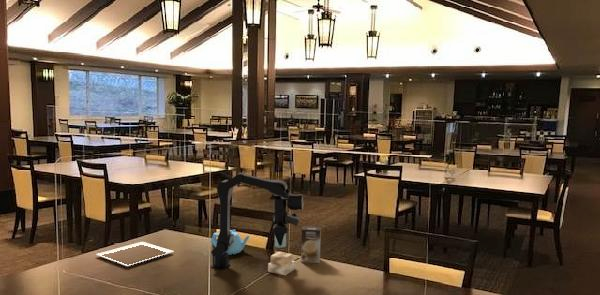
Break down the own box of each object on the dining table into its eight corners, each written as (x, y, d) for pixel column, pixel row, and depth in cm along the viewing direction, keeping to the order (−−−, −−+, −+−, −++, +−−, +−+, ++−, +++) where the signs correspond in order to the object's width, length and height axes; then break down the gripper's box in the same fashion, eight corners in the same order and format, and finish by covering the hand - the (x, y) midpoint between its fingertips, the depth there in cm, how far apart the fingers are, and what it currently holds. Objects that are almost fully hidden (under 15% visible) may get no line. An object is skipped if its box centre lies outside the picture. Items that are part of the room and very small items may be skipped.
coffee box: (300, 262, 213) (300, 229, 211) (301, 258, 219) (302, 225, 217) (319, 263, 212) (320, 230, 210) (320, 258, 218) (321, 226, 217)
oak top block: (270, 263, 200) (270, 255, 200) (279, 258, 207) (279, 251, 206) (283, 266, 197) (284, 258, 197) (292, 261, 203) (292, 254, 203)
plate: (142, 244, 237) (142, 241, 237) (174, 254, 222) (174, 250, 222) (95, 258, 216) (95, 253, 216) (127, 270, 201) (127, 265, 201)
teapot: (235, 244, 239) (235, 225, 238) (250, 252, 227) (250, 231, 226) (209, 250, 229) (209, 229, 229) (223, 258, 218) (223, 236, 217)
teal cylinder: (272, 246, 200) (272, 233, 199) (278, 243, 204) (278, 230, 204) (282, 248, 197) (282, 234, 197) (288, 245, 202) (287, 231, 201)
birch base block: (268, 272, 200) (268, 263, 200) (278, 266, 208) (278, 257, 208) (285, 276, 196) (285, 267, 196) (295, 269, 204) (295, 261, 204)
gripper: (299, 213, 190) (299, 249, 192) (297, 204, 209) (297, 237, 210) (273, 214, 190) (273, 250, 191) (273, 204, 208) (273, 237, 210)
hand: (280, 243), depth 201 cm, fingers closed on teal cylinder, 5 cm apart
